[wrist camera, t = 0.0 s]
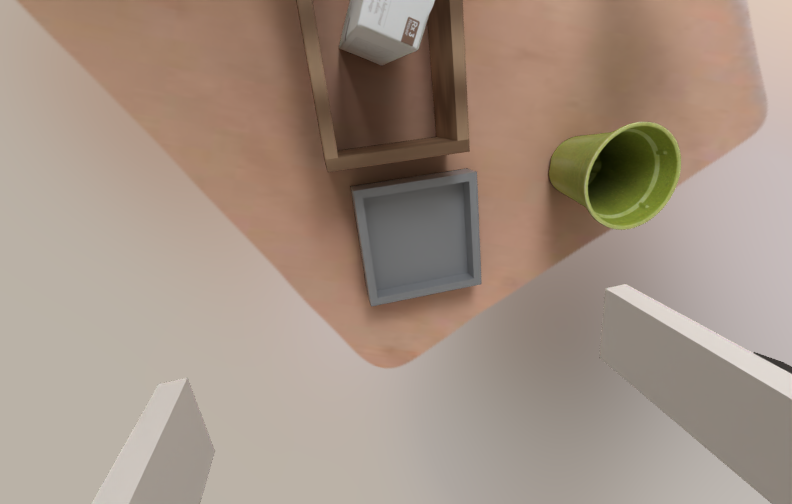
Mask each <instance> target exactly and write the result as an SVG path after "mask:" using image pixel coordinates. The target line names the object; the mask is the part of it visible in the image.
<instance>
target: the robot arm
mask: <svg viewBox="0 0 792 504" xmlns="http://www.w3.org/2000/svg"><path fill="white" fill-rule="evenodd" d="M599 358H600V359H601V360H603V361H604V362H605V363H606V364H608V366H610V367H611V368H612V369H613V370H614V371H616V372H617V373H618V374H619V375H620V376H622V377H623V378H624V379H625V380H626V381H627V382H629V383H630V384H631V385H632V386H634V387H635V388H636V389H637V390H638V391H639V392H640V393H642V394H643V395H644V396H645V397H646V398H647V399H649V400H650V401H651V402H652V403H653V404H655V405H656V406H657V407H658V408H660V410H662V411H663V412H664V413H665V414H666V415H668V416H669V417H670V418H671V419H672V420H674V421H675V422H676V423H677V424H678V425H679V426H681V427H682V428H683V429H684V430H685V431H687V432H688V433H689V434H690V435H691V436H692V437H694V438H695V439H696V440H697V441H698V442H699V443H701V444H702V445H703V446H704V447H705V448H707V449H708V450H709V451H710V452H711V453H712V454H714V455H715V456H716V457H717V458H718V459H720V460H721V461H722V462H723V463H724V464H725V465H727V466H728V467H729V468H730V469H731V470H733V471H734V472H735V473H736V474H737V475H738V476H740V477H741V478H742V479H743V480H744V481H746V482H747V483H748V484H749V485H750V486H751V487H753V488H754V489H755V490H756V491H758V492H759V493H760V494H761V495H762V496H763V497H765V498H766V499H767V500H768V501H769V502H770V503H772V504H792V367H791V366H789V365H787V364H785V363H783V362H781V361H778V360H775V359H772V358H769V357H766V356H764V355H761V354H758V353H755V352H754V353H752V352H750V351H748V350H746V349H745V348H743V347H741V346H739V345H737V344H735V343H734V342H732V341H730V340H728V339H726V338H724V337H722V336H721V335H718V334H717V333H715V332H713V331H711V330H710V329H708V328H706V327H704V326H702V325H700V324H698V323H696V322H695V321H693V320H691V319H689V318H687V317H686V316H684V315H682V314H680V313H678V312H676V311H674V310H673V309H671V308H669V307H667V306H665V305H663V304H662V303H659V302H658V301H656V300H654V299H652V298H650V297H649V296H647V295H645V294H643V293H641V292H639V291H638V290H635V289H634V288H632V287H630V286H628V285H626V284H624V285H619V286H615V287H610V288H606V289H605V298H604V311H603V322H602V332H601V344H600V355H599ZM214 452H215V450H214V448H213V445H212V442H211V440H210V437H209V434H208V431H207V428H206V426H205V424H204V420H203V418H202V415H201V412H200V410H199V407H198V404H197V402H196V399H195V396H194V394H193V391H192V389H191V386H190V383H189V380H188V378H184V379H179V380H174V381H169V382H165V383H160V384H158V386H157V387H156V389H155V391H154V393H153V395H152V396H151V398H150V400H149V402H148V403H147V405H146V407H145V409H144V410H143V412H142V414H141V416H140V418H139V419H138V421H137V423H136V425H135V426H134V428H133V430H132V432H131V434H130V436H129V437H128V439H127V441H126V443H125V444H124V446H123V448H122V450H121V451H120V453H119V455H118V457H117V459H116V461H115V462H114V464H113V466H112V468H111V469H110V471H109V473H108V475H107V476H106V478H105V480H104V482H103V483H102V485H101V487H100V489H99V491H98V492H97V494H96V496H95V498H94V499H93V501H92V503H91V504H200V502H201V499H202V495H203V491H204V488H205V484H206V481H207V477H208V474H209V470H210V466H211V463H212V460H213V456H214Z"/></svg>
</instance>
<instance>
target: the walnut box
mask: <svg viewBox="0 0 792 504" xmlns="http://www.w3.org/2000/svg"><path fill="white" fill-rule="evenodd" d="M296 2H297V8H298V13H299V19H300V24H301V30H302V36H303V41H304V47H305V53H306V58H307V64H308V69H309V75H310V81H311V86H312V92H313V97H314V103H315V109H316V114H317V120H318V126H319V131H320V137H321V142H322V148H323V154H324V159H325V164H326V168H327V171H328V172H333V171H340V170H347V169H354V168H361V167H367V166H374V165H381V164H388V163H394V162H401V161H408V160H415V159H422V158H428V157H435V156H442V155H449V154H455V153H462V152H469V151H470V149H469V128H468V106H467V85H466V63H465V42H464V21H463V0H435V2H434V5H433V7H432V10H431V12H430V14H429V17H428V20H427V21H428V35H429V48H430V61H431V74H432V87H433V101H434V114H435V127H436V137H431V138H424V139H417V140H410V141H403V142H395V143H388V144H381V145H374V146H367V147H360V148H353V149H345V150H338V151H337V147H336V141H335V135H334V129H333V123H332V117H331V111H330V105H329V99H328V93H327V87H326V81H325V75H324V69H323V63H322V57H321V51H320V45H319V39H318V33H317V27H316V21H315V14H314V8H313V2H312V0H296Z"/></svg>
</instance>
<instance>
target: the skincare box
mask: <svg viewBox="0 0 792 504" xmlns="http://www.w3.org/2000/svg"><path fill="white" fill-rule="evenodd" d="M434 2H435V0H350V3H349V6H348V10H347V14H346V18H345V22H344V26H343V31H342V35H341V40H340V45H339V49H342V50H345V51H347V52H350V53H352V54H355V55H357V56H359V57H362V58H364V59H367V60H369V61H372V62H374V63H376V64H379V65H381V66H382V65H385V64H387V63H389V62H391V61H394V60H396V59H398V58H401V57H403V56H405V55H407V54H410V53H412V52H415V51H417V50H418V49H419V46H420V43H421V39H422V36H423V33H424V30H425V27H426V23H427V20H428V17H429V14H430V12H431V10H432V7H433V5H434Z"/></svg>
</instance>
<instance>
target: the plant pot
mask: <svg viewBox="0 0 792 504" xmlns="http://www.w3.org/2000/svg"><path fill="white" fill-rule="evenodd" d="M680 170H681V154H680V150H679V146H678V143H677V141H676V139H675V138H674V137H673V135H672V134H671V133H670V132H669V131H668V130H667V129H666V128H664V127H663V126H661V125H659V124H656V123H652V122H637V123H632V124H628V125H626V126H623V127H621V128H619V129H618V130H616V131H613V132H610V133H602V134H593V135H583V136H576V137H572V138H569V139H567V140H566V141H564V142H563V143H561V144H560V145H559V146H558V147H557V149H556V150H555V151H554V153H553V155H552V157H551V164H550V169H549V178H550V181H551V183H552V185H553V186H554V187H555V188H556V189H557V190H558V191H560V192H561V193H563V194H565V195H566V196H568V197H570V198H572V199H573V200H575V201H577V202H578V203H580V204H581V205H583V206H585V207H586V208H587V210H588V211H589V213H590V214H591V216H592V217H593V218H594V219H595V220H596V221H598V222H599V223H600V224H602V225H604V226H606V227H608V228H612V229H620V230H625V229H631V228H635V227H637V226H640V225H642V224H644V223H646V222H647V221H649V220H650V219H652V218H653V217H654V216H656V214H658V213H659V212H660V211H661V210H662V209H663V208H664V206H665V205H666V204H667V202H668V201H669V199H670V198H671V196H672V194H673V192H674V190H675V188H676V185H677V183H678V179H679V176H680ZM589 176H590V179H589Z"/></svg>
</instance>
